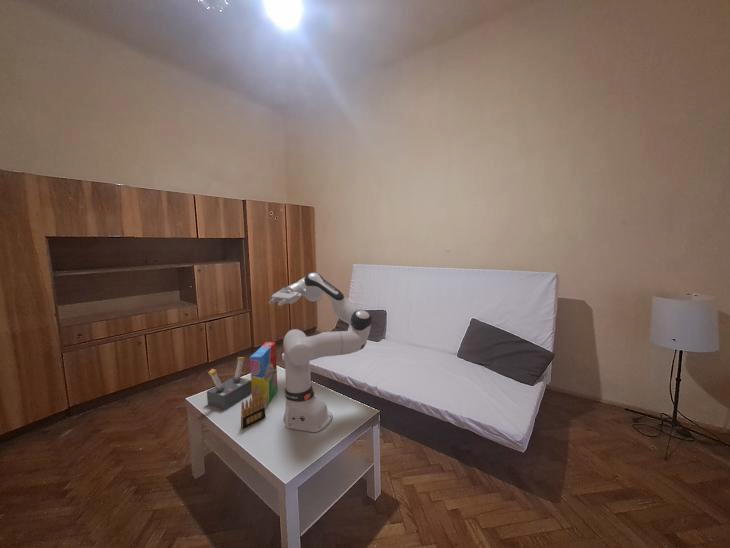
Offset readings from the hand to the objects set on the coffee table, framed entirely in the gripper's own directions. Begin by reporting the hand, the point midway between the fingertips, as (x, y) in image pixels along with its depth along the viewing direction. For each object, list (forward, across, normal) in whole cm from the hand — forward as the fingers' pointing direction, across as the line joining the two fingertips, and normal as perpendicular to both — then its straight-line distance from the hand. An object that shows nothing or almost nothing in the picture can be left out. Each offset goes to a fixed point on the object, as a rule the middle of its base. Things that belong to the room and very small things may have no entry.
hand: (273, 304), depth 157 cm
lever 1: (+41, +4, -25) cm, 48 cm away
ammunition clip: (+41, -22, -35) cm, 58 cm away
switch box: (+39, +6, -34) cm, 52 cm away
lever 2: (+33, +7, -28) cm, 44 cm away
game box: (+29, -9, -39) cm, 49 cm away
